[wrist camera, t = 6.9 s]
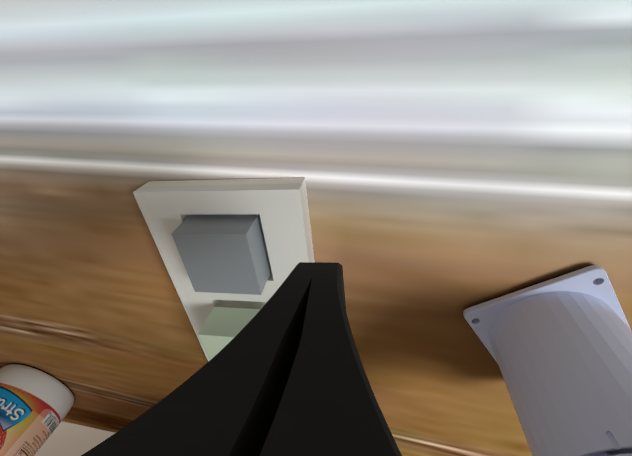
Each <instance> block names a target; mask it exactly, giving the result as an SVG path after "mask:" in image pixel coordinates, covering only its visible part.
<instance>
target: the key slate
mask: <svg viewBox="0 0 632 456" xmlns="http://www.w3.org/2000/svg"><path fill="white" fill-rule="evenodd" d="M171 234H172V237H173V239H174V242H175V244H176V247H177V249H178V252H179V254H180V257H181V259H182V262H183V264H184V266H185V269H186V271H187V274H188V276H189V279H190V281H191V284H192V286H193V289H194V291H195V292H209V293H231V294H252V295H261V294H262V292H263V289H264V287H265V285H266V282H267V280H268V277H269V275H270V273H271V265H270V261H269V256H268V252H267V247H266V242H265V238H264V233H263V228H262V224H261V219H260V214H190V215H189V216H188V217H187V218H186V219H185V220H184V221H183V222H182V223H181V224H180V225H179V226H178V227H177V228H176V229H175V230H174V231H173V232H172V233H171Z"/></svg>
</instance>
